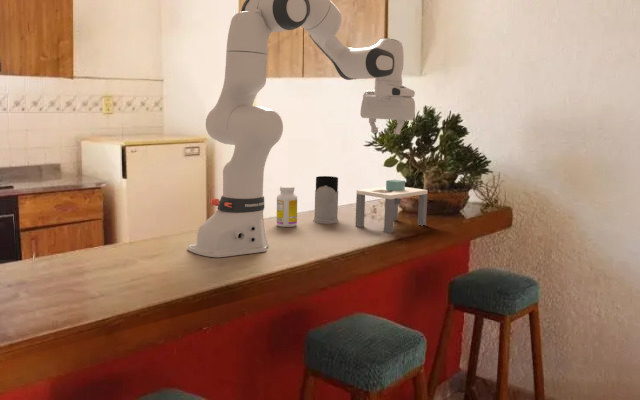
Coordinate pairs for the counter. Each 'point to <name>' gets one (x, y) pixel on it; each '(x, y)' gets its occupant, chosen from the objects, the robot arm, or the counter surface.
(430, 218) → the counter surface
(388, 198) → the keyhole bracket
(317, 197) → the glass holder
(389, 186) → the keyhole peg
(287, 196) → the supplement bottle
